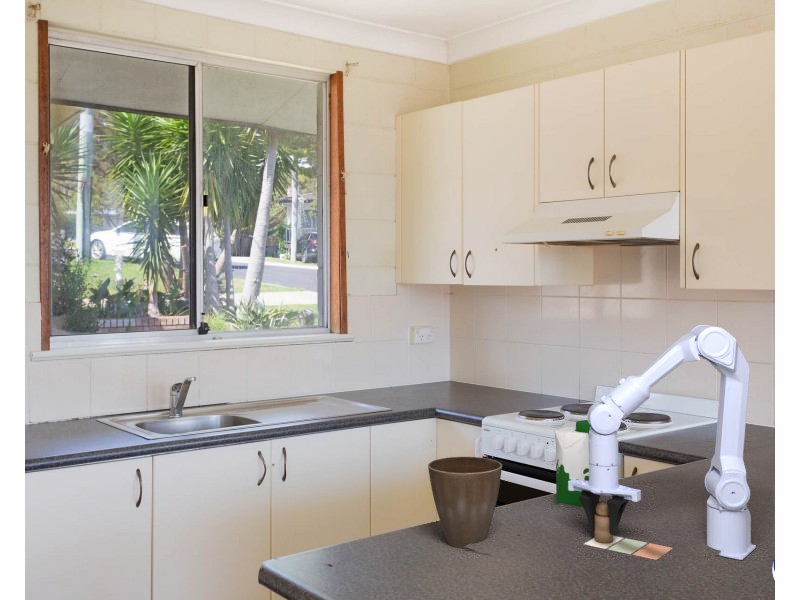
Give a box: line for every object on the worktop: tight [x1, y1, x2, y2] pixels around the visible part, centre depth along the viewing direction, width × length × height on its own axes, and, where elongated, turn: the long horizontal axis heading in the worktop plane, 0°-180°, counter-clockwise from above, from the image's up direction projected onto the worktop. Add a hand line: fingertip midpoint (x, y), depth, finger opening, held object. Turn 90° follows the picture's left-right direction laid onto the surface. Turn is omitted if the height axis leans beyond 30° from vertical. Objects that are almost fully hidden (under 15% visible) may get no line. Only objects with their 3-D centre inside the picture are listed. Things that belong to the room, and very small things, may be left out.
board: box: [583, 535, 673, 560], centre depth 154 cm, size 10×15×1 cm, turn 51°
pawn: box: [594, 500, 614, 543], centre depth 157 cm, size 4×4×8 cm
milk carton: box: [554, 420, 592, 508], centre depth 187 cm, size 9×9×20 cm
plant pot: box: [427, 456, 503, 549], centre depth 160 cm, size 15×15×16 cm
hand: (603, 531), depth 157 cm, fingers closed on pawn, 4 cm apart
